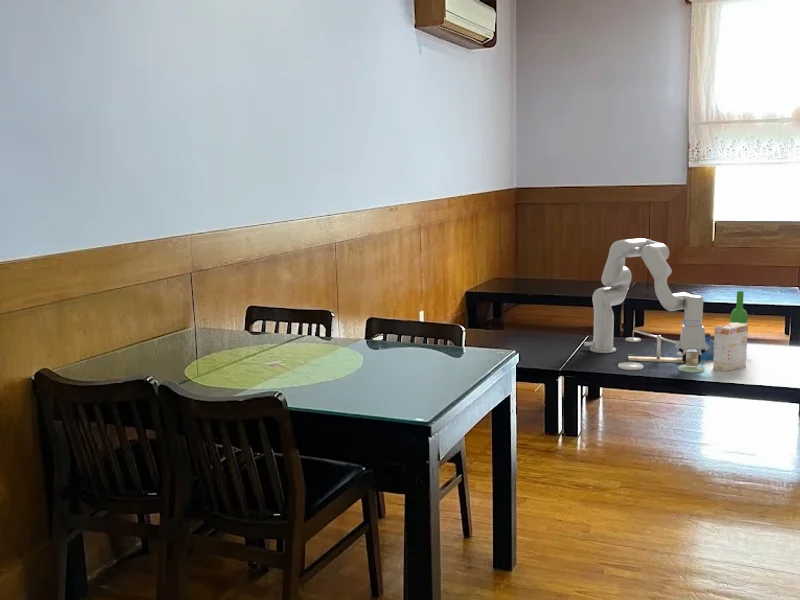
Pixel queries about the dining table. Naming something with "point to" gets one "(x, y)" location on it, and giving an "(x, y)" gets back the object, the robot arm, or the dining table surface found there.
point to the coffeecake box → (730, 346)
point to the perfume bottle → (710, 352)
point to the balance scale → (658, 358)
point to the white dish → (630, 366)
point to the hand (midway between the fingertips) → (691, 362)
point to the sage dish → (691, 369)
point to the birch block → (691, 358)
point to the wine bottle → (739, 311)
